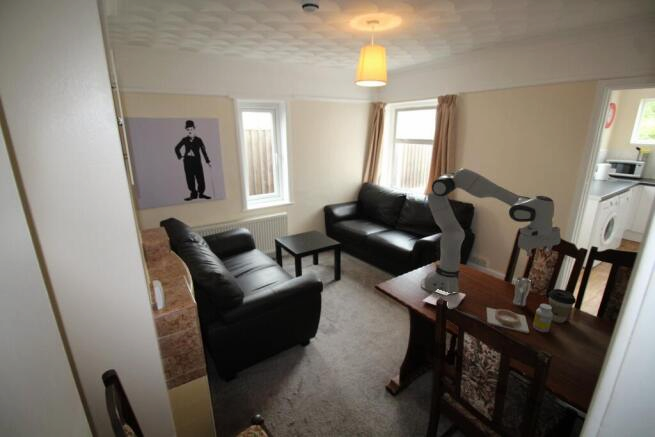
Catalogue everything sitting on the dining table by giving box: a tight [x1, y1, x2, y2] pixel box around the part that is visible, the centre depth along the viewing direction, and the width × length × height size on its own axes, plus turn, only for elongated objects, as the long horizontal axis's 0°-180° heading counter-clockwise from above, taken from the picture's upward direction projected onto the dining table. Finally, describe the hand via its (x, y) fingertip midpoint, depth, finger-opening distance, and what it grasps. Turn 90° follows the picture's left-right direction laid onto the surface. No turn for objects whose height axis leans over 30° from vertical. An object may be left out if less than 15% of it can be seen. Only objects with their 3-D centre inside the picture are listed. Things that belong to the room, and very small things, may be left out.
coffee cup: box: [548, 288, 577, 324], centre depth 155 cm, size 11×11×15 cm
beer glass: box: [512, 276, 532, 307], centre depth 168 cm, size 7×7×15 cm
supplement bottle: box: [532, 303, 553, 333], centre depth 148 cm, size 7×7×13 cm
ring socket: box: [486, 307, 530, 334], centre depth 155 cm, size 18×14×3 cm
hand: (537, 254), depth 151 cm, fingers open, 8 cm apart
